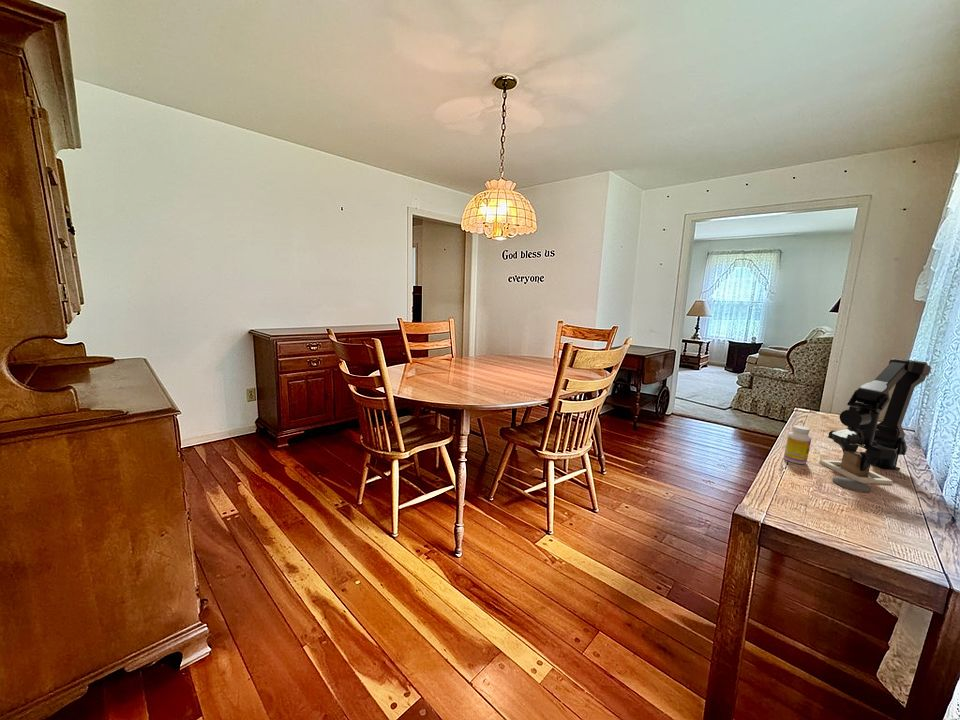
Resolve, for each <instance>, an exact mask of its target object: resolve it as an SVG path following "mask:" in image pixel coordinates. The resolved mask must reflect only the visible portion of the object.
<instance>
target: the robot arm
mask: <svg viewBox="0 0 960 720" xmlns="http://www.w3.org/2000/svg"><path fill="white" fill-rule="evenodd" d="M931 371H932V369H931V365H928V363H927V362H926V361H919V360H911V359H904V358H898V357H897V358H896V357H894V358H890V360H889V362H888V365H887V366H885V368H884V369H883V370H882V371H881V372H880V373H879V374H878V375H877V376H876V377H875V378H874V379H873V380H872V381H869V382H865V383H863V384H862V385H861V386H859V387H858V388H856V390H855V391H854V392H853V394H852V395H851V397H850V399H849V401H848V402H847V403H846V404H847V406H849V408H848V409H846V410H843V411H842V412H841V413H840V414H839V421H840V422H841V423H842V425H844V426H846V427H847V428H846V429H840V430H834V429H833V430H830V431H829V432H828V436H827V438H828V439H831V440H833V441H832V442H833V443H836V444H837V445H839V447H841V450H842V454H843V453H844V451H858V448H859V447H861V448H863V449H865V451H859V452H860V454H861V455H862V461H861V466H860V470H861V471H865V470H866V469H867V468H868V467H870V468H871V466H872V465H874V466H876V467H878V468H880V469H883V470H896V471H897V470H901V468H900V467H898V466H897V463H898V458H899V456H900V455H901V456H905V455H906V453H907V452H908V451H907V450H908V445H907V443H906V439H905V437H906V434H905V433H906V432H905V431H904V429H903V426H902V424H903V422H904V419H905V417H906V413H907V411H908V407H909V405H910V402H911V400H912V399H911V398H912V395H913V394H914V391H915V387H918V385H920V384H922V383H923V382H924V381H925V380H926V378H927V377H928V375H930V373H931ZM893 387H894V388H893ZM892 389H893V391H892V394H891V396H890V393H889V392H890V391H891V390H892ZM887 405H888V406H887ZM885 407H887V408H886V411H885V412H884V413H885V414H884V416H883V419H882V421H881V422H879V419H880V414H881V412H882V411H883V410H884V409H885ZM878 422H879V423H878Z"/></svg>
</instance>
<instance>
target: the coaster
mask: <svg viewBox="0 0 960 720" xmlns="http://www.w3.org/2000/svg"><path fill="white" fill-rule="evenodd" d="M832 482H833V484H836V485H837V486H840V487H842V488H844V489H847V490H850V491H854V492H860V493H871V492H872V487H871V486H870V485H867V483H862V482H859V481H856V480H853V479H850V478H848V477H843V476H835V477H834V476H833V478H832Z"/></svg>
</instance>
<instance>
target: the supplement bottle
mask: <svg viewBox="0 0 960 720" xmlns="http://www.w3.org/2000/svg"><path fill="white" fill-rule="evenodd" d="M810 431H811V430H810V428H808V427H807V426H802V425H798V424H797V425H793V426H792V431H790V432H788V434H787V438H786V444H785V448H784V452H783V453H784V454H783V458H784V459H785V460H786V461H788V462H790V463H794V464H797V465H805V464H806V463H808V459H809V458H808V457H809V453H810V447H811V443H812V437H811V436H810V435H809V433H810Z"/></svg>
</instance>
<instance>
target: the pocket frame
mask: <svg viewBox="0 0 960 720" xmlns="http://www.w3.org/2000/svg"><path fill="white" fill-rule="evenodd" d="M841 462H842V460H833V459H832V460H831V459H819V464H821V465H823V466H825V467H827V468H828V469H831V470H832V471H835V472H837V473H839V474H841V475H843V476H845V478H849V479H853V480H856V481H859V482H862V483H864V484H878V485H879V484H881V485H893V480H892V479H890V478H888V477H886V476H884V475H882V474H879V473H877V472H875V471H872V470H871V469H870V470H869V474H868V477H864V476H856V475H854V474H852V473H850V472H848V471H846V470H844V469H842V468H840V466H841Z"/></svg>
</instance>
